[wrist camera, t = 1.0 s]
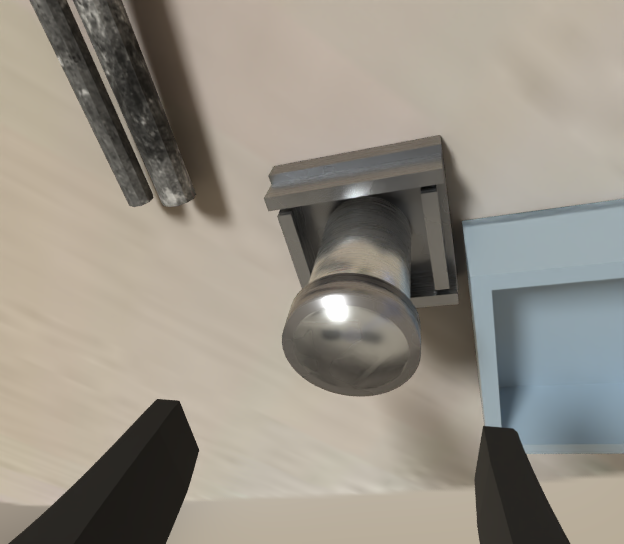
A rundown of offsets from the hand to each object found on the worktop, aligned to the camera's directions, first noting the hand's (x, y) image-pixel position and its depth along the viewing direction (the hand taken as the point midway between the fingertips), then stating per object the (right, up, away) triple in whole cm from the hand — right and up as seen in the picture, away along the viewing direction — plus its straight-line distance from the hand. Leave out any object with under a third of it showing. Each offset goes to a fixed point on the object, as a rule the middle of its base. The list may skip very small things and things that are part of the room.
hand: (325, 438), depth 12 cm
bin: (+11, +3, +7) cm, 13 cm away
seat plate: (+2, +6, +7) cm, 9 cm away
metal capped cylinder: (+2, +5, +6) cm, 9 cm away
